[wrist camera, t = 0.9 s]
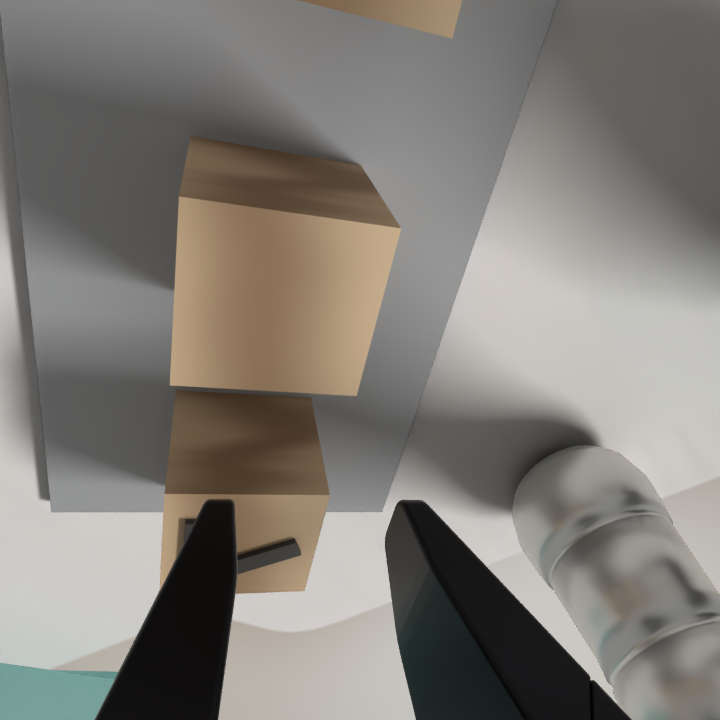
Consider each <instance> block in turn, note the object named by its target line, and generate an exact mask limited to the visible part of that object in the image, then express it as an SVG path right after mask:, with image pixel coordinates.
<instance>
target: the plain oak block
mask: <svg viewBox="0 0 720 720" xmlns="http://www.w3.org/2000/svg"><path fill="white" fill-rule="evenodd" d="M400 232H401V227H400V225H399V224H398V222H397V221H396V219H395V218H394V216H393V215H392V213H391V211H390V210H389V208H388V207H387V205H386V204H385V202H384V200H383V199H382V197H381V196H380V194H379V193H378V191H377V190H376V188H375V186H374V185H373V183H372V182H371V180H370V179H369V177H368V175H367V174H366V172H365V171H364V169H363V168H362V166H361V165H356V164H350V163H345V162H339V161H333V160H327V159H321V158H316V157H310V156H304V155H298V154H292V153H286V152H281V151H275V150H269V149H263V148H257V147H252V146H246V145H240V144H234V143H228V142H222V141H217V140H211V139H205V138H199V137H193V136H190V140H189V145H188V151H187V156H186V162H185V167H184V172H183V178H182V183H181V188H180V194H179V207H178V227H177V247H176V268H175V288H174V309H173V329H172V350H171V370H170V385H171V386H189V387H207V388H224V389H242V390H260V391H277V392H295V393H312V394H330V395H348V396H357V392H358V389H359V385H360V381H361V378H362V374H363V370H364V366H365V363H366V359H367V355H368V351H369V348H370V344H371V340H372V336H373V333H374V329H375V325H376V321H377V318H378V314H379V310H380V307H381V303H382V299H383V295H384V292H385V288H386V284H387V280H388V277H389V273H390V269H391V265H392V262H393V258H394V254H395V250H396V247H397V243H398V239H399V235H400Z"/></svg>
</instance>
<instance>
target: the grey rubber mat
mask: <svg viewBox="0 0 720 720" xmlns="http://www.w3.org/2000/svg"><path fill="white" fill-rule="evenodd" d="M557 1H558V0H462V4H461V7H460V11H459V15H458V19H457V22H456V26H455V30H454V34H453V37H452V38H448V37H444V36H440V35H436V34H432V33H428V32H424V31H420V30H416V29H412V28H408V27H404V26H400V25H396V24H392V23H388V22H384V21H379V20H375V19H371V18H367V17H363V16H359V15H355V14H351V13H347V12H343V11H339V10H335V9H331V8H327V7H323V6H319V5H315V4H310V3H306V2H302V1H298V0H0V15H1V25H2V35H3V45H4V55H5V64H6V74H7V84H8V94H9V103H10V113H11V123H12V133H13V142H14V152H15V162H16V172H17V181H18V191H19V201H20V211H21V221H22V230H23V240H24V250H25V260H26V269H27V279H28V289H29V299H30V308H31V318H32V328H33V338H34V348H35V357H36V367H37V377H38V387H39V396H40V406H41V416H42V426H43V435H44V445H45V455H46V465H47V475H48V484H49V494H50V504H51V512H164V493H165V484H166V475H167V466H168V457H169V448H170V439H171V430H172V421H173V412H174V403H175V394H176V390H180V391H198V392H216V393H235V394H253V395H271V396H290V397H308V398H311V400H312V405H313V410H314V415H315V420H316V426H317V431H318V436H319V441H320V446H321V451H322V456H323V462H324V467H325V472H326V477H327V482H328V487H329V492H330V497H329V501H328V505H327V508H326V512H382V510H383V508H384V505H385V502H386V499H387V496H388V493H389V490H390V487H391V484H392V481H393V478H394V476H395V473H396V470H397V467H398V464H399V461H400V458H401V455H402V452H403V449H404V446H405V444H406V441H407V438H408V435H409V432H410V429H411V426H412V423H413V420H414V417H415V414H416V412H417V409H418V406H419V403H420V400H421V397H422V394H423V391H424V388H425V385H426V382H427V380H428V377H429V374H430V371H431V368H432V365H433V362H434V359H435V356H436V353H437V350H438V348H439V345H440V342H441V339H442V336H443V333H444V330H445V327H446V324H447V321H448V318H449V316H450V313H451V310H452V307H453V304H454V301H455V298H456V295H457V292H458V289H459V286H460V284H461V281H462V278H463V275H464V272H465V269H466V266H467V263H468V260H469V257H470V254H471V251H472V249H473V246H474V243H475V240H476V237H477V234H478V231H479V228H480V225H481V222H482V219H483V217H484V214H485V211H486V208H487V205H488V202H489V199H490V196H491V193H492V190H493V187H494V185H495V182H496V179H497V176H498V173H499V170H500V167H501V164H502V161H503V158H504V155H505V153H506V150H507V147H508V144H509V141H510V138H511V135H512V132H513V129H514V126H515V123H516V121H517V118H518V115H519V112H520V109H521V106H522V103H523V100H524V97H525V94H526V91H527V89H528V86H529V83H530V80H531V77H532V74H533V71H534V68H535V65H536V62H537V59H538V57H539V54H540V51H541V48H542V45H543V42H544V39H545V36H546V33H547V30H548V27H549V25H550V22H551V19H552V16H553V13H554V10H555V7H556V4H557ZM190 136H193V137H199V138H205V139H211V140H217V141H222V142H228V143H234V144H240V145H246V146H252V147H257V148H263V149H269V150H275V151H281V152H286V153H292V154H298V155H304V156H310V157H316V158H321V159H327V160H333V161H339V162H345V163H350V164H356V165H361V166H362V168H363V169H364V171H365V172H366V174H367V175H368V177H369V179H370V180H371V182H372V183H373V185H374V186H375V188H376V190H377V191H378V193H379V194H380V196H381V197H382V199H383V200H384V202H385V204H386V205H387V207H388V208H389V210H390V211H391V213H392V215H393V216H394V218H395V219H396V221H397V222H398V224H399V225H400V227H401V232H400V235H399V239H398V243H397V247H396V250H395V254H394V258H393V262H392V265H391V269H390V273H389V277H388V280H387V284H386V288H385V292H384V295H383V299H382V303H381V307H380V310H379V314H378V318H377V321H376V325H375V329H374V333H373V336H372V340H371V344H370V348H369V351H368V355H367V359H366V363H365V366H364V370H363V374H362V378H361V381H360V385H359V389H358V392H357V396H348V395H330V394H312V393H295V392H277V391H260V390H242V389H224V388H207V387H189V386H171V385H170V370H171V350H172V329H173V309H174V288H175V268H176V247H177V227H178V207H179V194H180V188H181V183H182V178H183V172H184V167H185V162H186V156H187V151H188V145H189V140H190Z"/></svg>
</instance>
